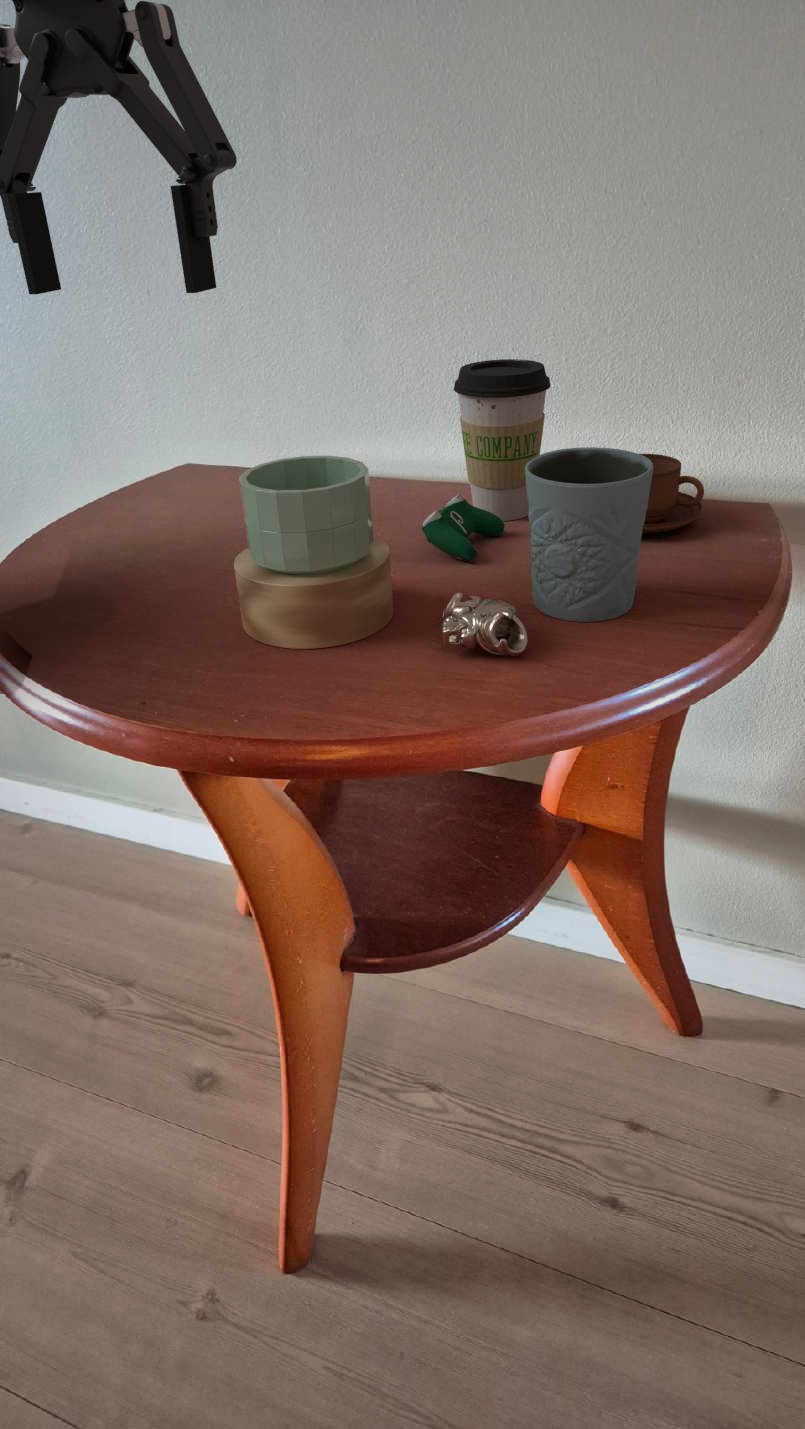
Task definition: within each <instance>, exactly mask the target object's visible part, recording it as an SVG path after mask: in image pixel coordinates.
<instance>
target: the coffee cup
mask: <svg viewBox="0 0 805 1429" xmlns="http://www.w3.org/2000/svg"><path fill="white" fill-rule="evenodd" d="M551 387H552V385H551V379H550V377H549V376H548V375H547V371H546V368H545V365H544V363H542V362H539V361H536V360H529V359H518V358H515V359H514V358H509V359H508V358H505V359H489V360H481V361H476V362H471V363H467V364H464V365H462V366H461V367H460V368H459V371H458V376H457V379H456V380H455V381H454V386H453V392H455V393H456V394H457V396H458V403H459V411H460V417H459V422H460V429H461V438H462V443H463V451H464V458H465V465H466V466H465V467H466V473H467V480H468V482H469V486H470V494H471V502H472V506H474V507H477V508H480V509H483V510H486V511H488V512H490V513H492V514H495V515H496V516H498V517H499V518H500V519H501V520H502V521H503V522H505V521H507V522H509V521H514V520H515V521H516V520H520V519H523V518H526V517H528V516H529V511H528V510H529V504H528V498H527V489H526V476H525V466H526V464H527V463H528V462H529V461H530V460H532V459H534V458H535V457H537V456H538V455H541V448H542V441H543V440H542V439H543V433H544V424H545V416H546V415H545V412H544V411H545V403H546V394H547V390H549V389H550V388H551Z"/></svg>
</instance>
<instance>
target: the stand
mask: <svg viewBox="0 0 805 1429" xmlns="http://www.w3.org/2000/svg"><path fill="white" fill-rule="evenodd" d="M373 542H374V544H373V546H372V549H371V551H370V553H369V554H367V555H365V556H364V557H362V558H361V559H359V560H358V561H356V562H354V563H353V564H351V565H349V566H346V567H344V568H341V569H337V570H334V571H329V572H324V573H317V574H287V573H281V572H276V571H273V570H271V569H269V568H264V567H262V566H260V565H258V564H256V563H254V562H253V561H252V559H251V557H250V554H249V550H248V547H245V548H244V549H243V550H242V551H241V552H239V553H238V554H237V555H236V557H235V559H234V561H233V569H234V576H235V582H236V589H237V597H238V602H239V609H240V616H241V623H242V628H243V630H244V632H245V633H246V635H248V636H249V637H250V638H252V639H253V640H255V641H257V642H259V643H262V644H265V645H267V646H268V645H269V646H273V647H277V648H283V649H293V650H294V649H297V650H298V649H299V650H310V649H312V650H313V649H324V648H331V647H337V646H342V645H346V644H347V645H348V644H351V643H354V642H357V641H360V640H363V639H366V638H368V637H370V636H372V635H374V634H376V633H378V632H380V631H381V630H382V629H383V628H385V627H386V626H387V625H388V624H389V623H390V621H391V620H392V618H393V616H394V602H393V587H392V586H393V585H392V570H391V554H390V548H389V546H388V545H387V544H386V543H385V541H383V540H382V539H380V538H378V537H376V536H373Z"/></svg>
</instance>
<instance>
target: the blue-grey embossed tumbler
mask: <svg viewBox="0 0 805 1429" xmlns="http://www.w3.org/2000/svg"><path fill="white" fill-rule="evenodd" d="M640 454H641V453H637V452H634V451H630V450H625V449H620V448H612V447H595V446H594V447H570V448H569V447H568V448H562V449H556V450H555V449H554V450H551V451H547V452H543V453H540V455H538V456H537V457H535V458H534V459H532V460H530V461H529V462H528V463H527V464H526V466H525V476H526V489H527V498H528V504H529V510H528V511H529V515H528V516H527V518H528V521H529V525H530V527H531V528H530V536H529V537H530V538H529V540H530V541H529V544H530V560H531V569H530V576H531V577H530V579H531V595H532V602H533V605H534V607H535V608H536V610H538V611H539V612H541V613H542V614H544V615H546V616H548V617H551V618H554V619H558V620H562V621H568V622H577V623H578V622H579V623H592V622H601V621H608V620H612V619H615V618H619V617H620V616H623V615H625V614H627V612H629V611H630V610H632V608H633V604H634V601H635V594H636V588H637V581H638V573H639V566H638V563H639V561H638V560H639V555H640V552H641V549H642V537H643V533H642V528H643V525H644V522H645V518H646V511H647V507H648V499H649V492H650V486H651V480H652V474H653V463H652V462H651V460H650V459H648V458H647V457H645V456H643V455H640Z"/></svg>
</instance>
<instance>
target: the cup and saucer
mask: <svg viewBox="0 0 805 1429" xmlns="http://www.w3.org/2000/svg"><path fill="white" fill-rule="evenodd" d="M639 454H640V455H643V456H645V457H647V458H648V459H650V460H651V462H652V463H653V474H652V480H651V486H650V492H649V499H648V507H647V511H646V518H645V522H644V525H643V528H642V534H655V533H656V534H657V533H663V532H665V533H666V532H669V531H674V530H677V529H680V528H684V527H685V526H687V525H689V524H691V523H692V522H693V521H695V520H696V519H697V518H698V517H699V516H700V514H701V513H702V508H703V505H702V503H701V501H702V500H703V498H704V496H705V488H704V485H703V483H702V482H701V481H700V479H698V478H696V477H695V476H691V475H682V474H681V473H682V462H681V461H680V460H679V459H677V458H675V457H672V456H668V455H664V454H657V453H639ZM684 484H692V485H693V486H694V487H695V488H696V495H695V497H694V496H692V495H690V494H687V493H685V492H681V491H680V485H684Z"/></svg>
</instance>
